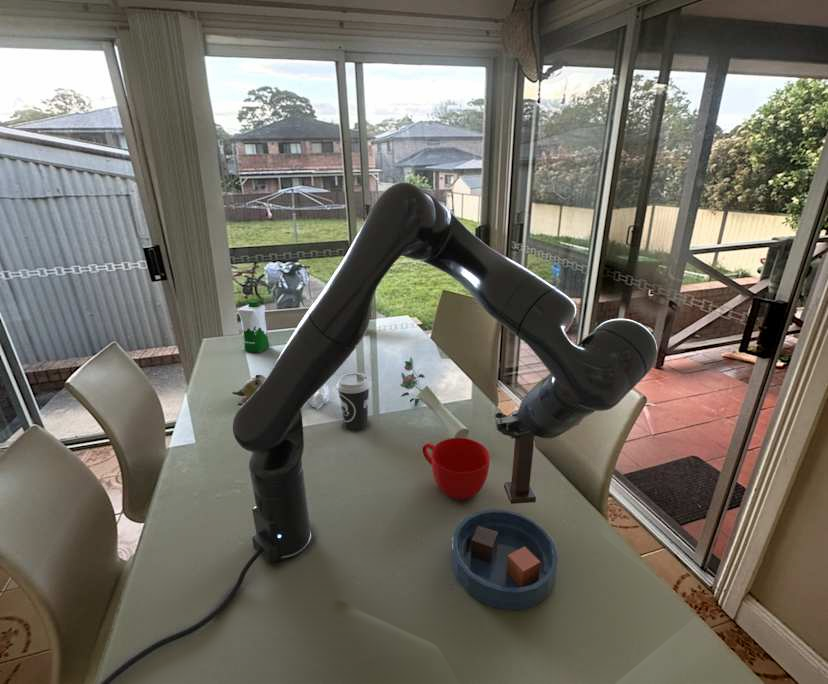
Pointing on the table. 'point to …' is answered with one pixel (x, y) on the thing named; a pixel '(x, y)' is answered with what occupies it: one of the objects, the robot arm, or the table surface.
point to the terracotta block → (523, 567)
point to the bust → (320, 397)
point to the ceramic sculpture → (250, 388)
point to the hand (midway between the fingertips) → (520, 432)
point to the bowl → (503, 560)
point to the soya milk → (254, 326)
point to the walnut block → (484, 544)
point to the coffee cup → (354, 400)
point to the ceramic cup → (458, 466)
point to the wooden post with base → (521, 471)
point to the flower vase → (433, 404)
